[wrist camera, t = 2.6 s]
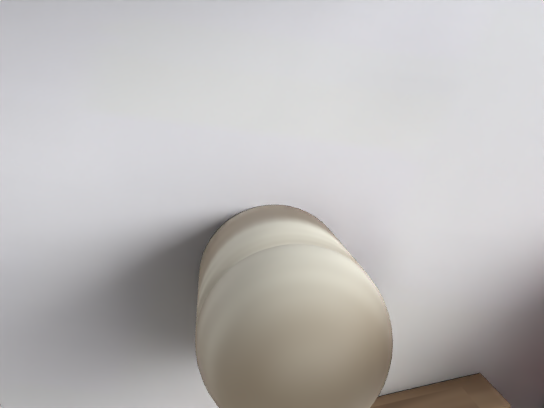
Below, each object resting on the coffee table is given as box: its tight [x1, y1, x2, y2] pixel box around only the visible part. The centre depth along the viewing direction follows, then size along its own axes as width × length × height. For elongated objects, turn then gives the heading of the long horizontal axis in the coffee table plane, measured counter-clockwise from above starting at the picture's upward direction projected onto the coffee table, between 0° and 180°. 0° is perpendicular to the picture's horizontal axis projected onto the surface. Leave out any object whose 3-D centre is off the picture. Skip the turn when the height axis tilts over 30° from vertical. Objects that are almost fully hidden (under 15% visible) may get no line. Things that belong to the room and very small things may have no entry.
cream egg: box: [195, 205, 393, 408], centre depth 14 cm, size 5×5×7 cm
